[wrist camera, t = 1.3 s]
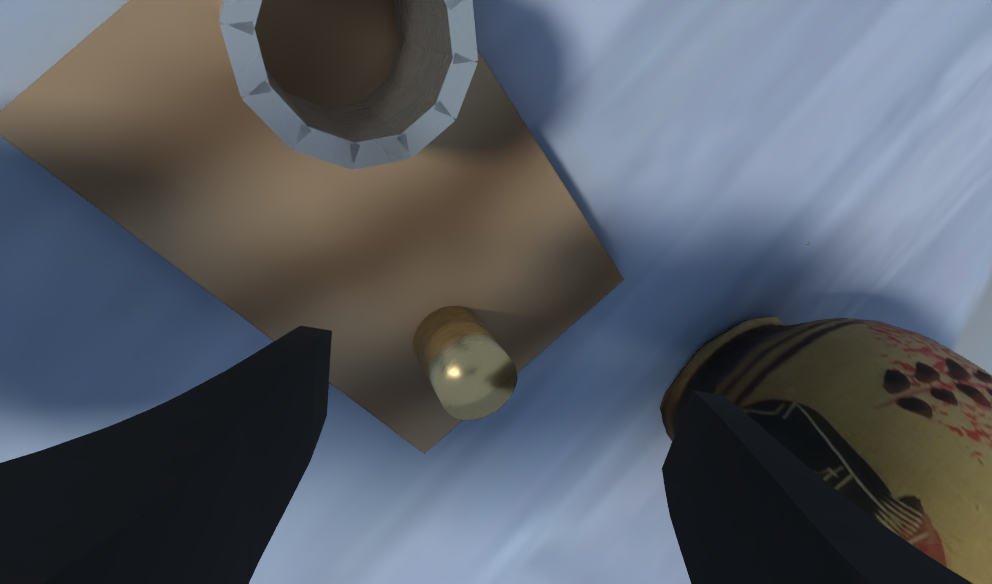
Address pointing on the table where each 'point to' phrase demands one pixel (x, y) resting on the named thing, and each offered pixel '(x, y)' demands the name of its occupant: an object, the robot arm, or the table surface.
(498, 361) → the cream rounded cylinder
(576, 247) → the walnut board
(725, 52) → the table surface
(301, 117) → the steel collar
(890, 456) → the ceramic jug
